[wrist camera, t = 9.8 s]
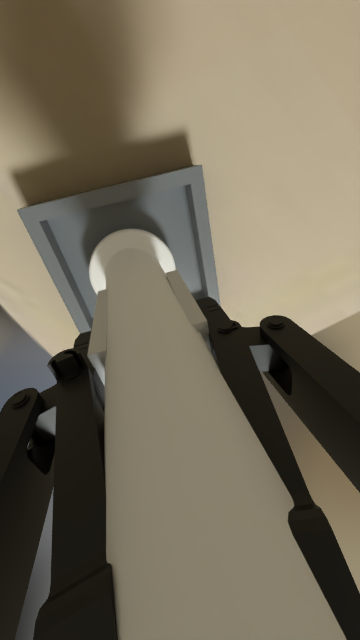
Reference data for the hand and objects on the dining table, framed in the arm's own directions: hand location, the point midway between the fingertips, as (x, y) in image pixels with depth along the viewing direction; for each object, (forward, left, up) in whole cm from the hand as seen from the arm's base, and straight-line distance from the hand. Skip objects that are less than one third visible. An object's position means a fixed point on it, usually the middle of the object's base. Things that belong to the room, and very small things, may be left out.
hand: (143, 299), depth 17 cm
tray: (0, 0, -8) cm, 8 cm away
